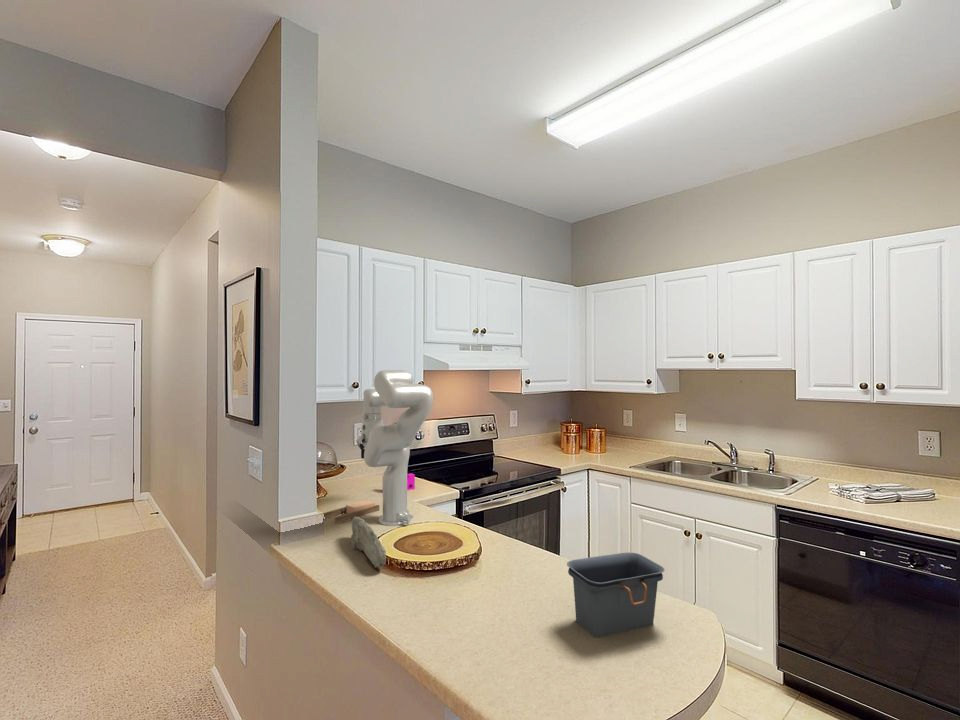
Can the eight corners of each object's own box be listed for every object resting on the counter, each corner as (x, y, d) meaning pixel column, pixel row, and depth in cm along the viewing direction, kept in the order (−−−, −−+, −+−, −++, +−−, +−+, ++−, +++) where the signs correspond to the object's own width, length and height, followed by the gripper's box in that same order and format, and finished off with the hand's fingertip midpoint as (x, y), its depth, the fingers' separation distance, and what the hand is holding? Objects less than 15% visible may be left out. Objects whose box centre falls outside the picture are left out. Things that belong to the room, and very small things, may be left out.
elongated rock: (392, 574, 146) (392, 541, 146) (374, 578, 144) (374, 544, 144) (358, 538, 177) (358, 510, 177) (343, 540, 174) (343, 512, 174)
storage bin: (633, 604, 128) (633, 549, 128) (677, 635, 114) (677, 572, 114) (561, 620, 120) (561, 561, 120) (599, 655, 106) (599, 588, 106)
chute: (379, 511, 208) (379, 505, 208) (336, 524, 191) (336, 518, 191) (364, 507, 214) (364, 501, 214) (321, 519, 197) (321, 513, 197)
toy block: (410, 487, 248) (410, 472, 248) (414, 490, 243) (414, 474, 243) (381, 490, 241) (381, 475, 241) (384, 493, 236) (384, 478, 236)
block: (374, 512, 208) (374, 502, 208) (353, 517, 200) (353, 507, 200) (367, 509, 212) (367, 499, 212) (346, 514, 205) (346, 504, 205)
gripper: (363, 419, 207) (363, 460, 206) (392, 416, 221) (393, 454, 220) (351, 418, 211) (351, 459, 211) (381, 415, 225) (381, 453, 225)
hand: (372, 456), depth 216 cm, fingers open, 9 cm apart
